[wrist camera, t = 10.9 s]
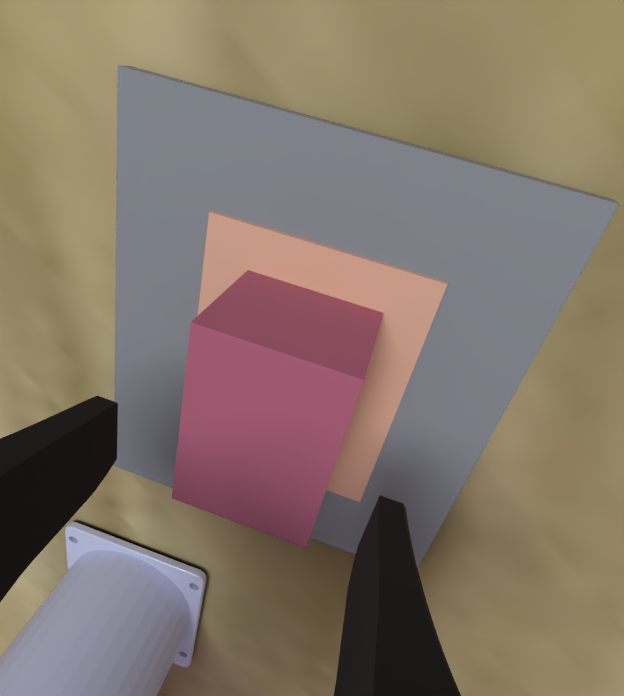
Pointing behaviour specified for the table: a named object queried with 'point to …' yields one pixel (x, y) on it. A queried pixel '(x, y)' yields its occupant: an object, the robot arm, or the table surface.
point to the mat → (338, 280)
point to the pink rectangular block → (269, 402)
